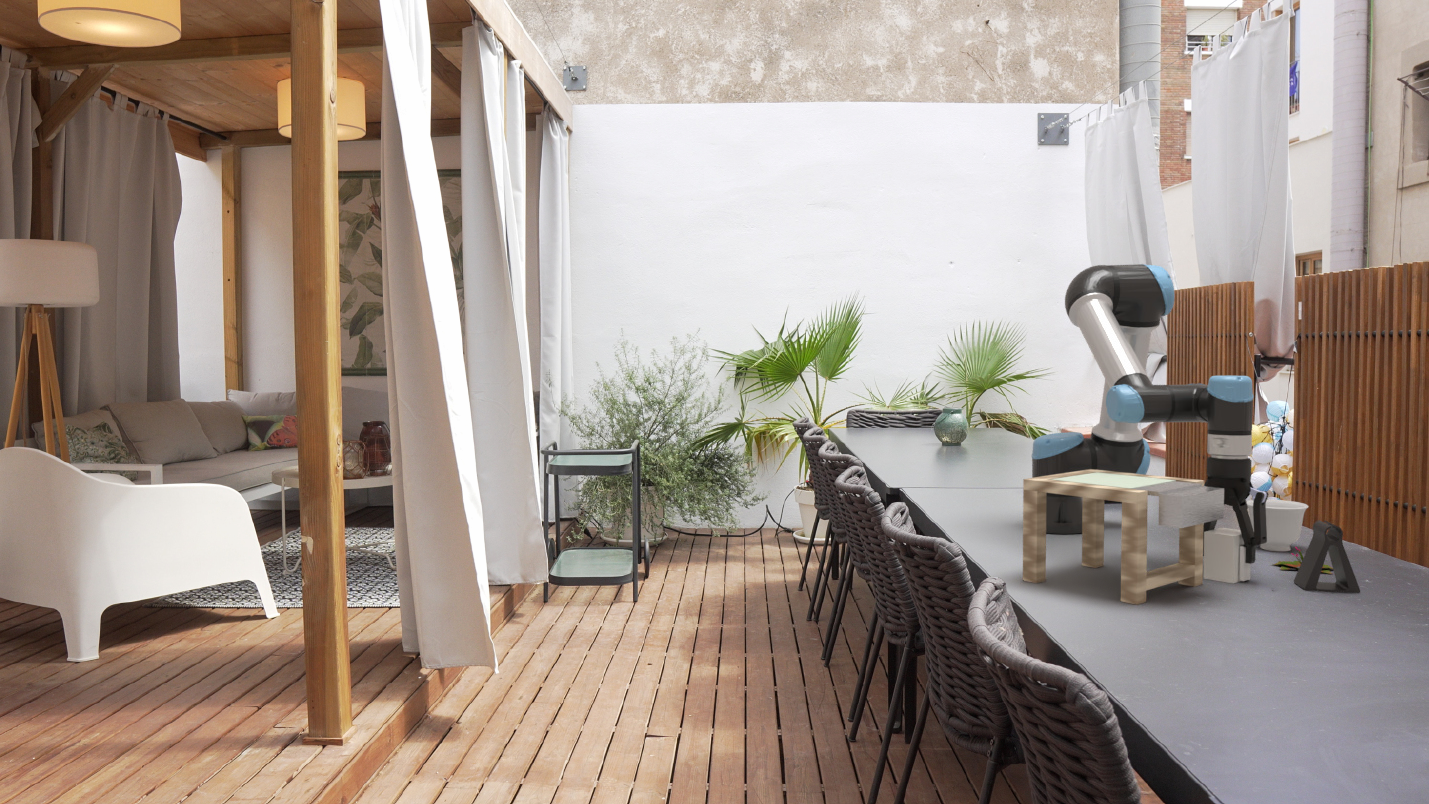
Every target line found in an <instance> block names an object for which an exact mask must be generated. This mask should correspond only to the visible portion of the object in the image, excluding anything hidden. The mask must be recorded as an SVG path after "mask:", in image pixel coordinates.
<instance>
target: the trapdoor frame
mask: <svg viewBox="0 0 1429 804" xmlns="http://www.w3.org/2000/svg"><path fill="white" fill-rule="evenodd" d="M1096 472H1100V473H1110V474H1120V475H1129V476H1139V477H1149V478H1159V479H1168V480H1176V481H1179V482H1189V483H1198V484H1202V486H1204V484H1205V480H1202V479H1193V478H1184V477H1183V478H1182V477H1174V476H1173V477H1172V476H1162V475H1153V474H1146V475H1144V474H1134V473H1124V472H1114V471H1104V470H1095V469H1089V470H1082V471H1075V472H1069V473H1062V474H1055V475H1048V476H1041V477H1035V478H1032V477H1029V478H1024V479H1023V480H1022V482H1023V483H1022V484H1023V486H1022V487H1023V488H1022V489H1023V491H1022V492H1023V495H1022V497H1023V499H1022V500H1023V501H1022V502H1023V504H1022V508H1023V509H1022V511H1023V512H1022V514H1023V515H1022V518H1023V519H1022V523H1023V524H1022V581H1023V580H1024V582H1028V583H1034V584H1039V583H1043V582H1046V581H1047V574H1046V573H1047V533H1046V492H1047V493H1054V494H1062V495H1070V496H1078V497H1082V498H1083V511H1082V533H1081V535H1082V536H1081V538H1082V539H1081V566H1083V567H1087V568H1088V567H1089V568H1094V569H1097V568H1101V567H1104V566H1105V563H1104V562H1105V559H1104V558H1105V501H1109V502H1110V501H1111V502H1117V503H1118V502H1120V503H1121V545H1120V546H1121V551H1120V554H1121V555H1120V556H1121V557H1120V559H1121V560H1120V561H1121V562H1120V602H1123V603H1127V604H1132V605H1136V606H1137V605H1142V604H1144V603H1147V591H1150V590H1152V589H1156V588H1159V587H1163V586H1166V585H1169V584H1173V583H1176V582H1178V584H1179V585H1183V586H1189V587H1198V586H1201V585H1203V581H1204V580H1203V579H1204V556H1203V526H1204V523H1202V524H1198V525H1193V526H1189V527H1185V528H1178V529H1179V531H1178V533H1179V534H1178V536H1179V537H1178V539H1179V540H1178V542H1179V543H1178V562H1177V563H1172V564H1169V565H1165V566H1161V567H1158V568H1154V569H1151V570H1148V569H1147V566H1148V561H1147V559H1148V556H1147V555H1148V505H1149V503H1148V501H1149V499H1148V496H1149V495H1148V491H1145V490H1136V489H1127V488H1118V487H1110V486H1101V485H1092V484H1083V483H1075V482H1066V481H1057V480H1050V479H1056V478H1063V477H1069V476H1076V475H1082V474H1089V473H1096Z"/></svg>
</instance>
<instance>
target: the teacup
mask: <svg viewBox="0 0 1429 804" xmlns="http://www.w3.org/2000/svg"><path fill="white" fill-rule="evenodd" d="M1246 502H1247V506H1248V509H1247V510H1248V514H1249V517H1250V520H1251V524H1252V527H1253V531H1254V520H1253V502H1254V501H1253V500H1252V499H1248V500H1246ZM1308 508H1309V505H1308V504H1306V503H1303V502H1299V501H1293V500H1283V499H1268V498H1267V501H1266V528H1267V542H1266V543H1264V544H1260V549H1262V550H1265V551H1269V552H1279V553H1280V552H1290V551H1291V545H1293V544H1295V543H1296V542H1297V541H1298V540H1299V539H1300V536H1301V533H1302V528H1303V527H1302V526H1303V521H1304V516H1305V513H1306V510H1307V509H1308Z"/></svg>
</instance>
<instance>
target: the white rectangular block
mask: <svg viewBox="0 0 1429 804" xmlns="http://www.w3.org/2000/svg"><path fill="white" fill-rule="evenodd" d="M1243 544H1244V541H1243V538H1242V534H1241V531H1240V529H1235V528H1228V527H1219V528H1215V529H1214V530H1210V531H1206V532H1204V556H1203V579H1205V580H1211V581H1212V580H1213V581H1215V582H1216V581H1217V582H1223V583H1227V584H1237V583H1239V582H1240V581H1239V573H1240V546H1243ZM1251 565H1252V564H1250V566H1251Z"/></svg>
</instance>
